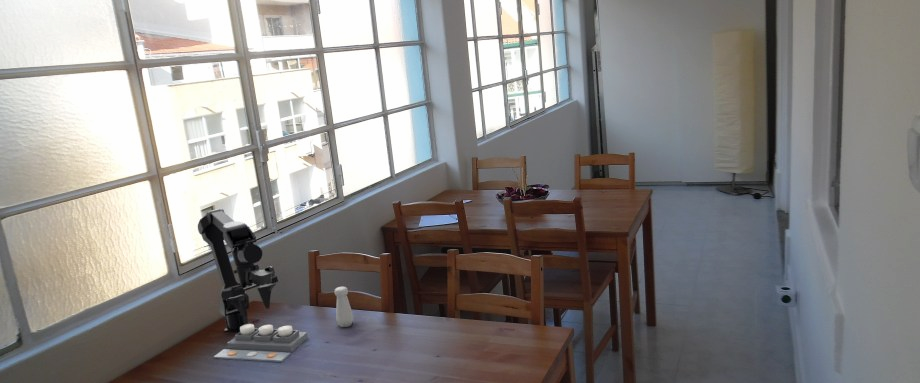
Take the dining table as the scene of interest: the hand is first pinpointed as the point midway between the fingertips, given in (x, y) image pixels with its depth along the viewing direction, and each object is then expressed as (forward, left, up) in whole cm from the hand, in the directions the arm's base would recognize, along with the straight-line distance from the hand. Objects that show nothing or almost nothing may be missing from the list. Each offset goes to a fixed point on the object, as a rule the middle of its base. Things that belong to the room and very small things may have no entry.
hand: (257, 312), depth 215 cm
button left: (-7, +3, -8) cm, 11 cm away
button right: (+7, +3, -8) cm, 11 cm away
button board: (0, +3, -12) cm, 12 cm away
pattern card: (0, -6, -12) cm, 13 cm away
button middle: (0, +3, -8) cm, 9 cm away
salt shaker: (+20, +19, -12) cm, 30 cm away
